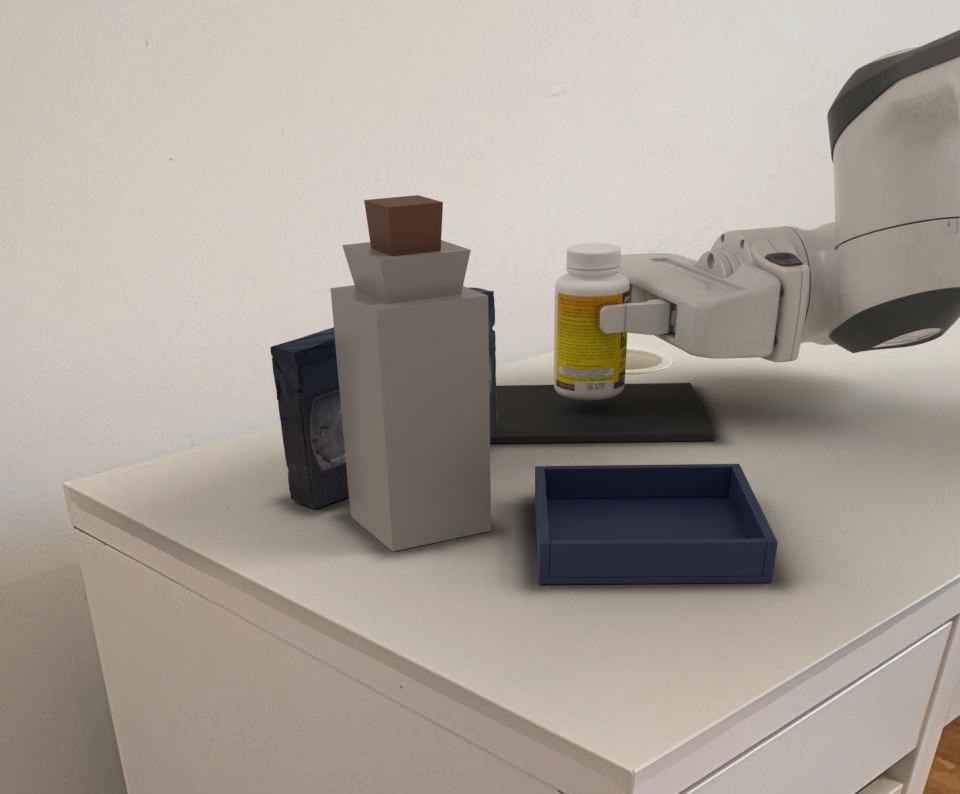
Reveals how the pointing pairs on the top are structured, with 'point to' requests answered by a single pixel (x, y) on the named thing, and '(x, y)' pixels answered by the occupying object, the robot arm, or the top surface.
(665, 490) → the box
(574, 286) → the supplement bottle
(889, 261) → the robot arm
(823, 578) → the top surface
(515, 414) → the mat
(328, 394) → the vhs cassette tape
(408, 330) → the perfume bottle
